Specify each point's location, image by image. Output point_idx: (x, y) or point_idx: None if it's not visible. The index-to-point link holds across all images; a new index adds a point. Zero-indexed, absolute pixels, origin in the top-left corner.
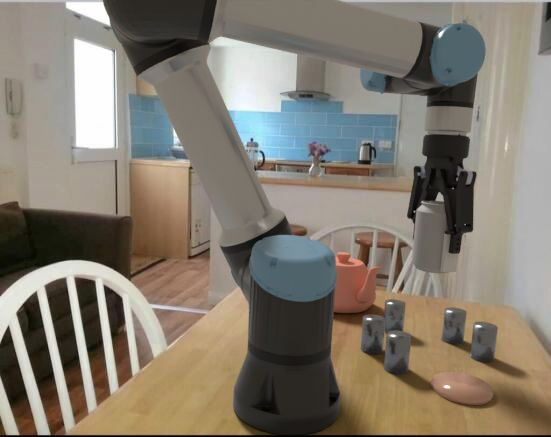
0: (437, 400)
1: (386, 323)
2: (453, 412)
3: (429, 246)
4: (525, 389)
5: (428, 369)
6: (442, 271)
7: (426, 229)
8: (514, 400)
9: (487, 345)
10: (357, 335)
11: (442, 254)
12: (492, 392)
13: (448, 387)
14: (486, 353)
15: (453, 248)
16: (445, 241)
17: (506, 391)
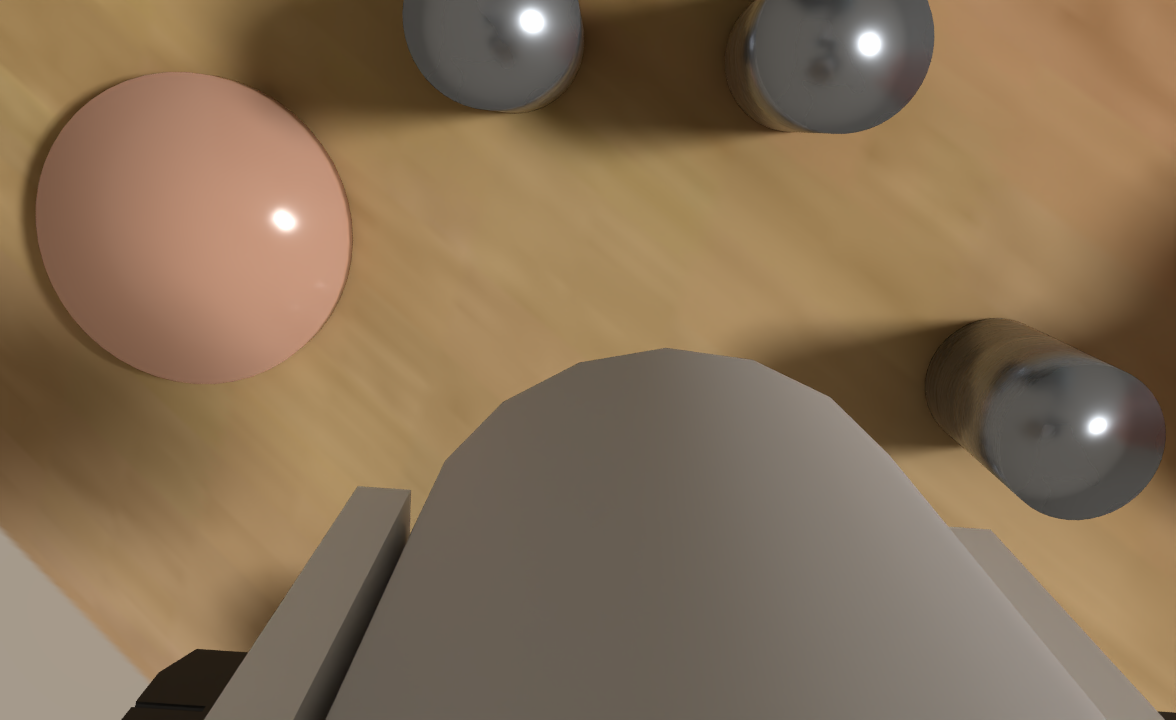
0: (140, 24)
1: (1013, 332)
2: (20, 20)
3: (486, 499)
4: (131, 545)
5: (453, 226)
6: (366, 489)
7: (544, 599)
8: (53, 406)
9: None
10: (1027, 104)
11: (349, 583)
12: (87, 328)
13: (187, 142)
14: None
15: (143, 694)
16: (245, 697)
17: (136, 441)
